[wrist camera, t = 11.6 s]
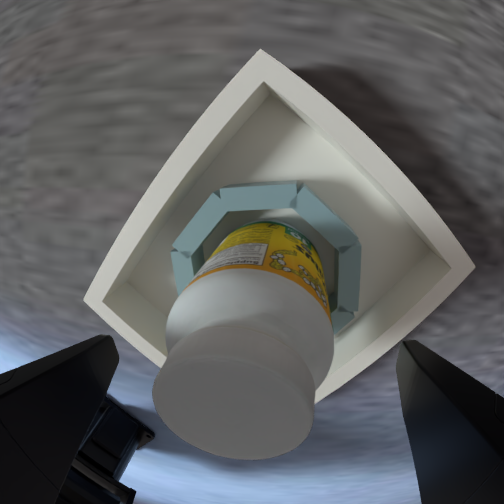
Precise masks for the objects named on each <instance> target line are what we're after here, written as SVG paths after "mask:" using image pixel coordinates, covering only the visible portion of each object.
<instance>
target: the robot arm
mask: <svg viewBox="0 0 504 504" xmlns="http://www.w3.org/2000/svg"><path fill="white" fill-rule="evenodd" d="M118 363H119V354H118V351H117V349H116V346H115V343H114V340H113V338H112V337H111V336H110V335H103V334H101V335H98V336H95V337H93V338H90V339H88V340H85V341H83V342H80V343H78V344H75V345H73V346H71V347H68V348H66V349H63V350H61V351H58V352H56V353H53V354H51V355H48V356H46V357H43V358H41V359H38V360H36V361H33V362H30V363H28V364H25V365H23V366H20V367H18V368H15V369H13V370H10V371H7V372H5V373H2V374H0V504H133V501H134V498H135V494H136V491H135V490H134V489H132V488H128V487H127V486H125V485H123V484H122V483H120V482H119V480H120V478H121V476H122V475H123V473H124V471H125V469H126V467H127V465H128V463H129V462H130V460H131V458H132V456H133V454H134V452H135V450H137V449H138V448H140V447H142V446H143V445H145V444H146V443H148V442H150V441H151V440H153V439H154V437H155V434H154V433H153V432H152V431H150V430H149V429H148V428H146V427H145V426H143V425H142V424H140V423H139V422H138V421H136V420H135V419H133V418H132V417H131V416H129V415H128V414H127V413H125V412H124V411H123V410H121V409H120V408H119V407H117V406H116V405H115V404H114V403H112V402H111V401H110V400H109V399H107V398H106V397H105V395H106V393H107V390H108V388H109V385H110V383H111V380H112V378H113V375H114V373H115V370H116V368H117V365H118ZM396 372H397V379H398V385H399V391H400V398H401V406H402V412H403V417H404V421H405V425H406V429H407V433H408V438H409V442H410V446H411V451H412V455H413V460H414V465H415V469H416V474H417V480H418V485H419V491H420V496H421V502H422V504H504V398H503V397H502V396H500V395H499V394H495V392H494V391H493V390H491V389H490V388H488V387H487V386H485V385H484V384H482V383H481V382H479V381H478V380H476V379H475V378H473V377H471V376H470V375H468V374H467V373H465V372H464V371H462V370H461V369H459V368H458V367H456V366H455V365H453V364H452V363H450V362H449V361H447V360H446V359H444V358H442V357H441V356H439V355H438V354H436V353H435V352H433V351H432V350H430V349H429V348H427V347H426V346H424V345H422V344H421V343H419V342H418V341H416V340H406V341H403V342H402V343H401V345H400V349H399V354H398V359H397V363H396Z"/></svg>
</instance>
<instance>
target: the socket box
mask: <svg viewBox="0 0 504 504" xmlns="http://www.w3.org/2000/svg"><path fill="white" fill-rule="evenodd" d="M264 219H270V220H278V221H281V222H284V223H287V224H289V225H291V226H293V227H294V228H296V229H297V230H299V231H300V232H302V233H303V234H304V235H305V236H306V237H308V238H309V239H310V241H311V242H312V243H313V244H314V246H315V248H316V249H317V251H318V254H319V256H320V259H321V263H322V268H323V273H324V278H325V285H326V290H327V295H328V302H329V308H330V314H331V319H332V325H333V330H334V356H333V360H332V364H331V367H330V370H329V372H328V375H327V376H326V378H325V380H324V381H323V383H322V384H321V385H320V387H319V388H318V389H317V390H316V391H315V403H317V402H318V401H320V400H321V399H323V398H324V397H326V396H327V395H329V394H330V393H332V392H333V391H335V390H336V389H338V388H339V387H341V386H342V385H343V384H345V383H346V382H348V381H349V380H350V379H352V378H353V377H355V376H356V375H357V374H359V373H360V372H361V371H363V370H364V369H365V368H367V367H368V366H369V365H371V364H372V363H373V362H374V361H376V360H377V359H378V358H379V357H381V356H382V355H383V354H384V353H386V352H387V351H388V350H389V349H391V348H392V347H393V346H394V345H395V344H397V343H398V342H399V341H400V340H401V339H403V338H404V337H405V336H406V335H407V334H408V333H409V332H411V331H412V330H413V329H414V328H415V327H416V326H417V325H418V324H420V323H421V322H422V321H423V320H424V319H425V318H426V317H427V316H428V315H429V314H430V313H431V312H433V311H434V310H435V309H436V308H437V307H438V306H439V305H440V304H441V303H442V302H443V301H444V300H445V299H446V298H447V297H448V296H449V295H450V294H451V293H452V292H453V291H454V290H455V289H456V288H457V287H458V286H459V285H460V284H461V283H462V281H463V280H464V279H465V278H466V277H467V276H468V275H469V274H470V273H471V272H472V271H473V270H474V268H475V265H474V263H473V262H472V260H471V259H470V257H469V256H468V255H467V253H466V252H465V250H464V249H463V247H462V246H461V245H460V243H459V242H458V240H457V239H456V238H455V236H454V235H453V233H452V232H451V231H450V229H449V228H448V227H447V225H446V224H445V223H444V221H443V220H442V219H441V218H440V216H439V215H438V214H437V213H436V211H435V210H434V209H433V208H432V206H431V205H430V204H429V203H428V201H427V200H426V199H425V198H424V197H423V195H422V194H421V193H420V192H419V191H418V189H417V188H416V187H415V186H414V185H413V184H412V183H411V181H410V180H409V179H408V178H407V177H406V176H405V175H404V174H403V172H402V171H401V170H400V169H399V168H398V167H397V166H396V165H395V164H394V163H393V162H392V161H391V160H390V158H389V157H388V156H387V155H386V154H385V153H384V152H383V151H382V150H381V149H380V148H379V147H378V146H377V145H376V144H375V143H374V142H373V141H372V140H371V139H370V138H369V137H368V136H367V135H366V134H365V133H364V132H363V131H362V130H360V129H359V128H358V127H357V126H356V125H355V124H354V123H353V122H352V121H351V120H350V119H349V118H348V117H346V116H345V115H344V114H343V113H342V112H341V111H340V110H339V109H337V108H336V107H335V106H334V105H333V104H332V103H331V102H329V101H328V100H327V99H326V98H325V97H323V96H322V95H321V94H320V93H319V92H317V91H316V90H315V89H314V88H312V87H311V86H310V85H309V84H307V83H306V82H305V81H304V80H302V79H301V78H300V77H299V76H297V75H296V74H295V73H293V72H292V71H291V70H289V69H288V68H287V67H285V66H284V65H283V64H281V63H280V62H278V61H277V60H276V59H274V58H273V57H271V56H270V55H269V54H267V53H266V52H264V51H263V50H261V49H260V50H259V51H258V52H257V53H256V54H255V55H254V56H253V57H252V58H251V59H250V60H249V61H248V62H247V63H246V65H245V66H244V67H243V68H242V69H241V70H240V71H239V72H238V73H237V74H236V76H235V77H234V78H233V79H232V80H231V81H230V82H229V84H228V85H227V86H226V87H225V88H224V89H223V90H222V92H221V93H220V94H219V95H218V96H217V98H216V99H215V100H214V101H213V102H212V104H211V105H210V106H209V107H208V108H207V110H206V111H205V112H204V113H203V115H202V116H201V117H200V118H199V120H198V121H197V122H196V123H195V125H194V126H193V127H192V128H191V130H190V131H189V132H188V134H187V135H186V136H185V138H184V139H183V140H182V142H181V143H180V144H179V146H178V147H177V148H176V150H175V151H174V152H173V154H172V155H171V156H170V158H169V159H168V161H167V162H166V163H165V165H164V166H163V168H162V169H161V171H160V172H159V173H158V175H157V176H156V178H155V179H154V181H153V182H152V184H151V185H150V187H149V188H148V190H147V191H146V193H145V194H144V196H143V197H142V199H141V200H140V202H139V203H138V205H137V206H136V208H135V209H134V211H133V213H132V214H131V216H130V217H129V219H128V221H127V222H126V224H125V226H124V227H123V229H122V230H121V232H120V234H119V235H118V237H117V239H116V241H115V242H114V244H113V246H112V247H111V249H110V251H109V253H108V254H107V256H106V258H105V260H104V262H103V263H102V265H101V267H100V269H99V271H98V272H97V274H96V276H95V278H94V280H93V282H92V284H91V286H90V288H89V289H88V291H87V293H86V295H85V297H84V299H83V300H84V301H85V302H86V303H87V304H88V305H89V306H90V307H91V308H92V309H93V310H94V311H95V312H96V313H97V314H98V315H99V316H100V317H101V318H102V319H103V320H105V321H106V322H107V323H108V324H109V325H110V326H111V327H112V328H113V329H114V330H116V331H117V332H118V333H119V334H120V335H121V336H122V337H124V338H125V339H126V340H127V341H128V342H129V343H130V344H132V345H133V346H134V347H135V348H136V349H138V350H139V351H140V352H141V353H142V354H144V355H145V356H146V357H147V358H149V359H150V360H151V361H152V362H154V363H155V364H156V365H157V366H159V367H160V368H162V366H163V364H164V363H165V361H166V359H167V356H168V352H167V347H166V339H165V333H166V324H167V320H168V316H169V314H170V311H171V309H172V307H173V305H174V303H175V301H176V300H177V299H178V297H179V296H180V294H181V293H182V292H183V290H184V289H185V287H186V286H187V285H188V284H189V282H190V281H191V280H192V279H193V277H194V276H195V275H196V274H197V272H198V271H199V270H200V269H201V267H202V266H203V265H204V264H205V263H206V261H207V260H208V259H209V258H210V256H211V255H212V254H213V252H214V251H215V250H216V249H217V247H218V246H219V245H220V243H221V242H222V241H223V240H224V239H225V238H226V237H227V236H228V235H229V234H230V233H231V232H232V231H233V230H235V229H236V228H238V227H240V226H241V225H244V224H246V223H249V222H252V221H256V220H264Z"/></svg>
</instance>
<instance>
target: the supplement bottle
mask: <svg viewBox="0 0 504 504" xmlns="http://www.w3.org/2000/svg"><path fill="white" fill-rule="evenodd" d="M165 339H166V347H167V352H168V356H167V359H166V361H165V363H164V364H163V366H162V368H161V369H160V371H159V373H158V375H157V377H156V379H155V382H154V385H153V390H152V396H153V402H154V405H155V408H156V410H157V413H158V415H159V416H160V418H161V419H162V420H163V422H164V423H165V424H166V426H167V427H168V428H169V429H170V430H171V431H173V432H174V433H175V434H176V435H177V436H178V437H180V438H181V439H182V440H184V441H186V442H187V443H189V444H191V445H193V446H194V447H197V448H199V449H201V450H203V451H206V452H208V453H211V454H213V455H218V456H222V457H226V458H232V459H240V460H260V459H268V458H273V457H276V456H280V455H283V454H285V453H287V452H289V451H292V450H293V449H295V448H296V447H298V446H299V445H300V444H301V443H302V442H303V441H304V440H305V439H306V438H307V436H308V435H309V433H310V431H311V428H312V425H313V419H314V404H315V391H316V390H317V389H318V388H319V387H320V385H321V384H322V383H323V381H324V380H325V378H326V376H327V375H328V372H329V370H330V367H331V364H332V360H333V356H334V330H333V325H332V319H331V314H330V308H329V302H328V295H327V290H326V285H325V278H324V273H323V268H322V263H321V259H320V256H319V254H318V251H317V249H316V248H315V246H314V244H313V243H312V242H311V241H310V239H309V238H308V237H306V236H305V235H304V234H303V233H302V232H300V231H299V230H297V229H296V228H294V227H293V226H291V225H289V224H287V223H284V222H281V221H278V220H270V219H264V220H256V221H252V222H249V223H246V224H244V225H241V226H240V227H238V228H236V229H235V230H233V231H232V232H231V233H230V234H229V235H228V236H227V237H226V238H225V239H224V240H223V241H222V242H221V243H220V245H219V246H218V247H217V249H216V250H215V251H214V252H213V254H212V255H211V256H210V258H209V259H208V260H207V261H206V263H205V264H204V265H203V266H202V267H201V269H200V270H199V271H198V272H197V274H196V275H195V276H194V277H193V279H192V280H191V281H190V282H189V284H188V285H187V286H186V287H185V289H184V290H183V292H182V293H181V294H180V296H179V297H178V299H177V300H176V301H175V303H174V305H173V307H172V309H171V311H170V314H169V316H168V320H167V324H166V333H165Z"/></svg>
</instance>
